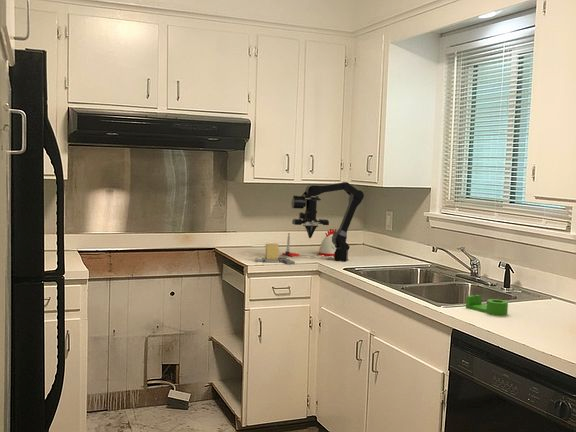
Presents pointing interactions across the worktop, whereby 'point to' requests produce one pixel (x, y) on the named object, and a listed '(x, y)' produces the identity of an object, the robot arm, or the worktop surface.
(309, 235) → the robot arm
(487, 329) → the worktop surface
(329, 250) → the kitchen timer
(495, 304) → the green ring bracket
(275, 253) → the yellow block
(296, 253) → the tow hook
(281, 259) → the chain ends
